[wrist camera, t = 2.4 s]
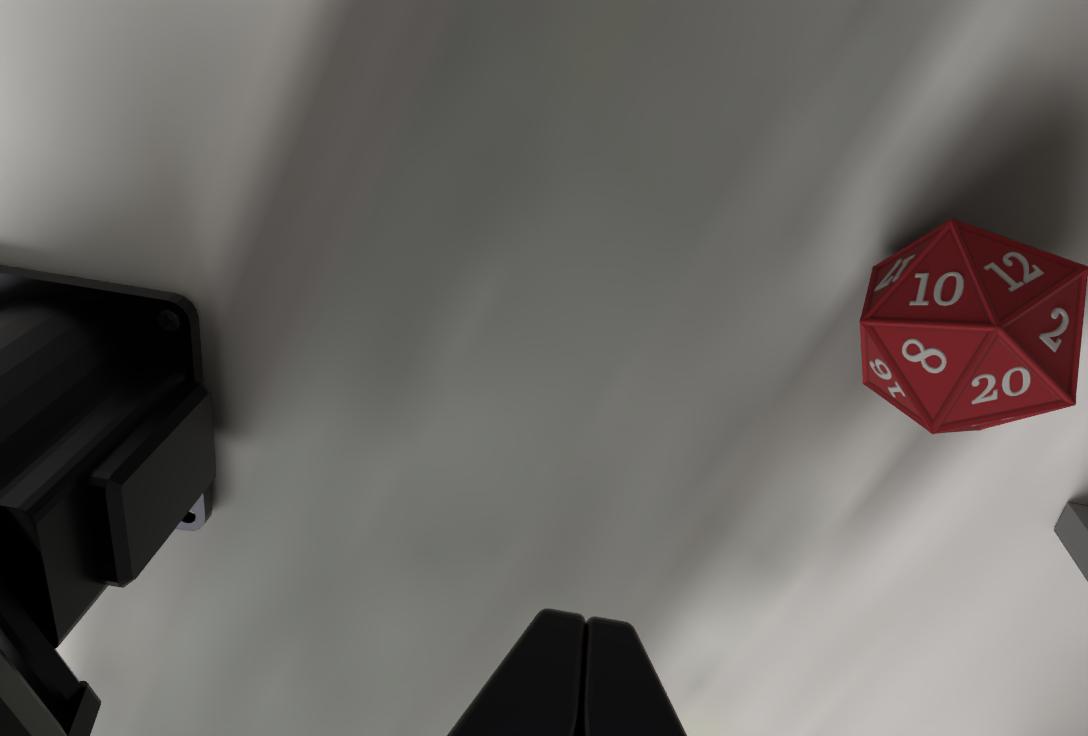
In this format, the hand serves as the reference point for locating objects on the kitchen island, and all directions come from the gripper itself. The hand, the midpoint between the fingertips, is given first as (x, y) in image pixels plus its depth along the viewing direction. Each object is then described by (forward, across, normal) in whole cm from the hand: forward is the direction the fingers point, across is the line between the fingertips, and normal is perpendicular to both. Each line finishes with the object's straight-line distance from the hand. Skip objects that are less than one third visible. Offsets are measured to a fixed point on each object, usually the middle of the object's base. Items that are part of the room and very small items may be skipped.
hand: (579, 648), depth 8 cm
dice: (+12, -7, 0) cm, 13 cm away
